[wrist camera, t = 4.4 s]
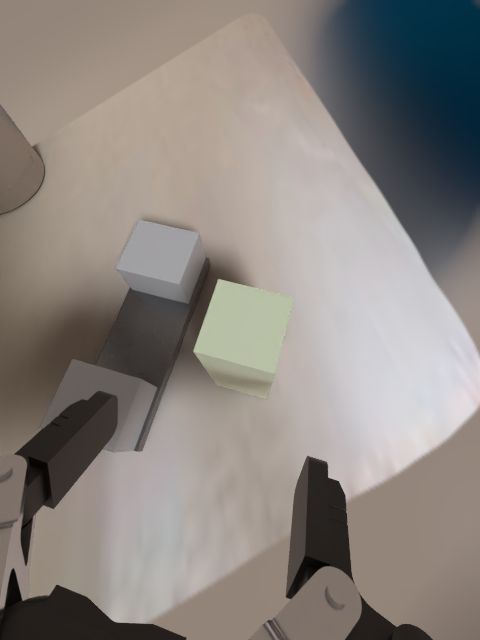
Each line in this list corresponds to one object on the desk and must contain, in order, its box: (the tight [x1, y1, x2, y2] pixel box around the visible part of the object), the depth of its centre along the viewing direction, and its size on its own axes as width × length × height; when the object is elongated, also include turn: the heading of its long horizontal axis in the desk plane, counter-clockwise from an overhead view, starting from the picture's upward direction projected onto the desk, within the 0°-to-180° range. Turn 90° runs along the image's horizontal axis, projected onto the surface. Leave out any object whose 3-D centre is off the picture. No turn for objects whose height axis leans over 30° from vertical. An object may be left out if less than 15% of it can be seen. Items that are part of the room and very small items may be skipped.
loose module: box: [193, 279, 294, 399], centre depth 20 cm, size 4×4×10 cm
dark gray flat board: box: [96, 258, 210, 452], centre depth 25 cm, size 6×16×1 cm, turn 164°
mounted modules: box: [39, 220, 206, 452], centre depth 23 cm, size 5×16×4 cm, turn 164°
